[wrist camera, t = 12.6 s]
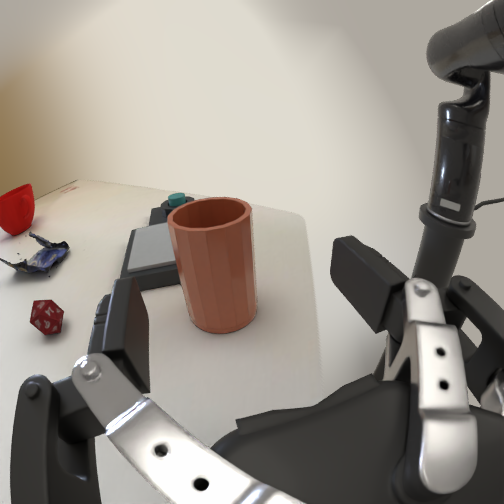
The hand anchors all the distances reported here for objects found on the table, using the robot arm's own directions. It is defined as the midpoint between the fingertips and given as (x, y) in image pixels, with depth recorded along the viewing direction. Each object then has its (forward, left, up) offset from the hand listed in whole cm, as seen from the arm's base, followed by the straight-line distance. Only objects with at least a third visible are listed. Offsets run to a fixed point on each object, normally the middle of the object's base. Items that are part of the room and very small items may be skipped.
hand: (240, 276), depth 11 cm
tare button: (+3, -35, -9) cm, 37 cm away
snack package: (+28, -28, -12) cm, 41 cm away
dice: (+19, -12, -12) cm, 25 cm away
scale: (+4, -23, -12) cm, 26 cm away
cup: (0, -11, -12) cm, 16 cm away
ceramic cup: (+45, -51, -12) cm, 69 cm away
